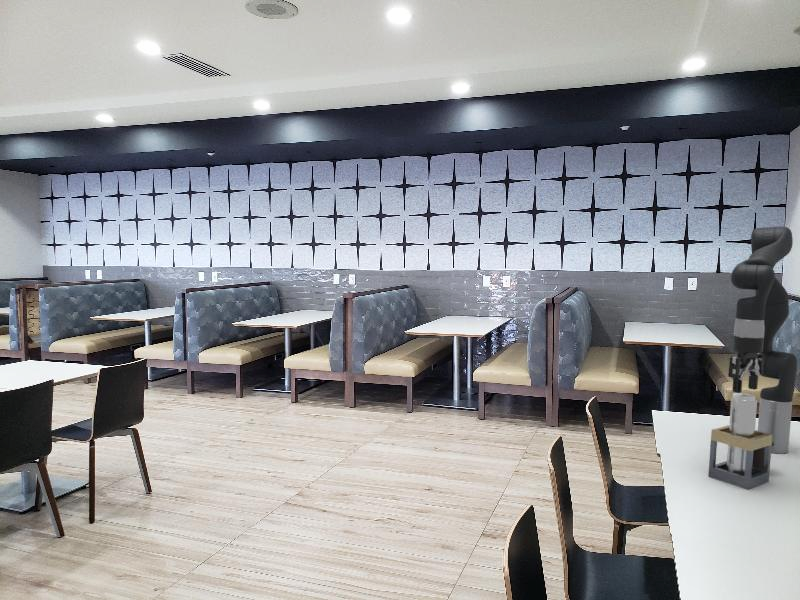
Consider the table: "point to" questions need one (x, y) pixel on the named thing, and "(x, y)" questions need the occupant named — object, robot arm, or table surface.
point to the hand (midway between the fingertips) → (744, 390)
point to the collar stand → (749, 445)
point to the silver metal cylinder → (741, 429)
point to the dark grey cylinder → (759, 457)
